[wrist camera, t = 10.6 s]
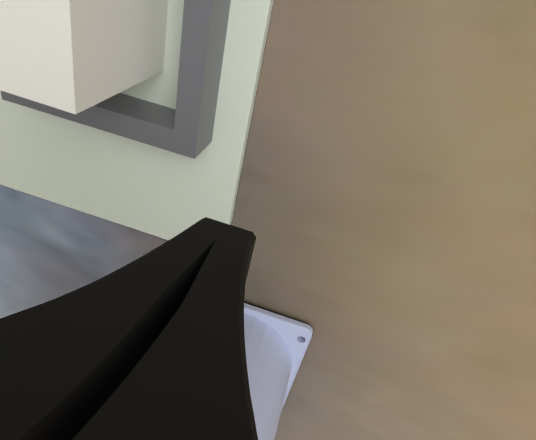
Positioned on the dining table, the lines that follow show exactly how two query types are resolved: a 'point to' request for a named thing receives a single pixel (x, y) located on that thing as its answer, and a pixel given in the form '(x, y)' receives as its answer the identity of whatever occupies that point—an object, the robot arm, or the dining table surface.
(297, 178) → the dining table surface
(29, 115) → the socket board
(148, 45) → the plug
